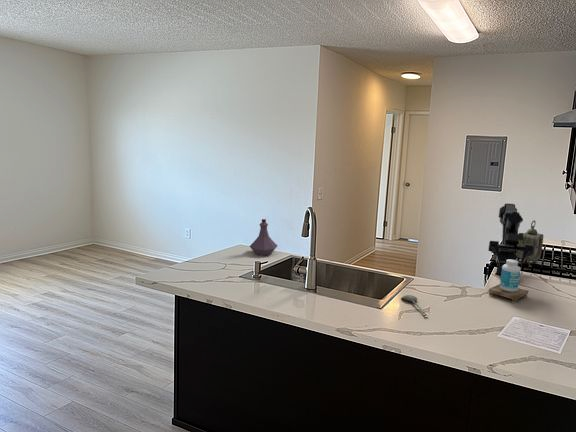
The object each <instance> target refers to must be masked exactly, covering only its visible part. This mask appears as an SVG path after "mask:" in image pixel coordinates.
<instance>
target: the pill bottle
mask: <svg viewBox="0 0 576 432" xmlns="http://www.w3.org/2000/svg"><path fill="white" fill-rule="evenodd" d="M506 263H507V264H504V265H503V266H502V273H501V276H500V281H499V282H500V283H499V284H500V288H501V289H502V290H504V291H508V292H516V291H517V290H518V288H519V284H520V277H521V267H520V266H518V265H519V261H518V260H517V259H516V260H512V259H507V260H506Z"/></svg>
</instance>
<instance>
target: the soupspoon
mask: <svg viewBox="0 0 576 432" xmlns="http://www.w3.org/2000/svg"><path fill="white" fill-rule="evenodd" d="M401 299H403V300H406V301H409V302H412V303H413V304H414V305H415V306H416V307H417V308H418V309H419V310H420V312H422V314H423V313H424V314H425V316H427V315H428V314H427V313H425V311H424V310H423V309H422V308H421V306H420V305H419V304H418V303H417V302H416V301H418V297H416V296H414V295H412V294H411V295H409V294H406V295H404V296H402V297H401Z"/></svg>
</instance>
